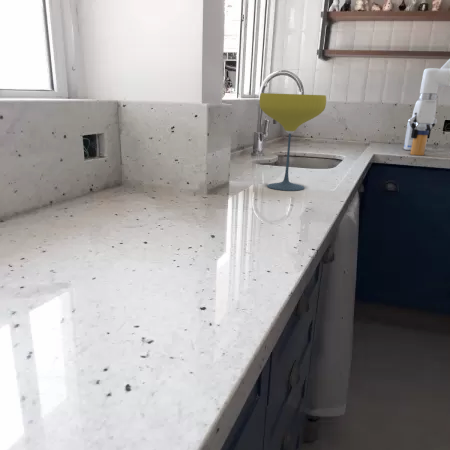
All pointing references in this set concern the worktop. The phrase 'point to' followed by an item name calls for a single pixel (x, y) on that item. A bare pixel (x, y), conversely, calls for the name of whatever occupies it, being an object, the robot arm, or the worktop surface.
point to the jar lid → (423, 132)
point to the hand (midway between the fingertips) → (420, 137)
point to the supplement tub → (408, 135)
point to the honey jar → (419, 145)
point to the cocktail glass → (291, 120)
